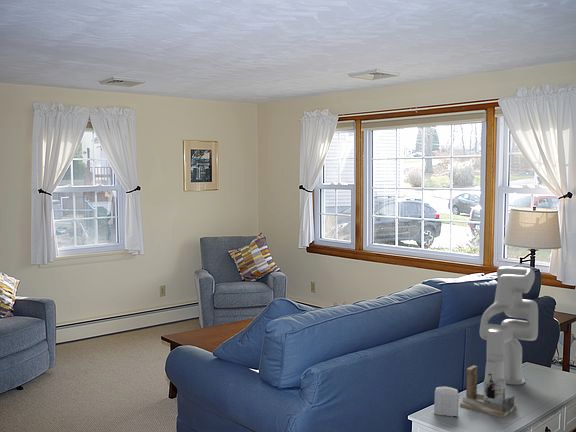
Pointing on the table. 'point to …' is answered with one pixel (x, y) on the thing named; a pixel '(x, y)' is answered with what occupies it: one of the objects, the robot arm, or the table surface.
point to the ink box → (496, 393)
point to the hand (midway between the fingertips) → (494, 395)
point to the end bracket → (471, 382)
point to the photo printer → (446, 401)
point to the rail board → (489, 405)
